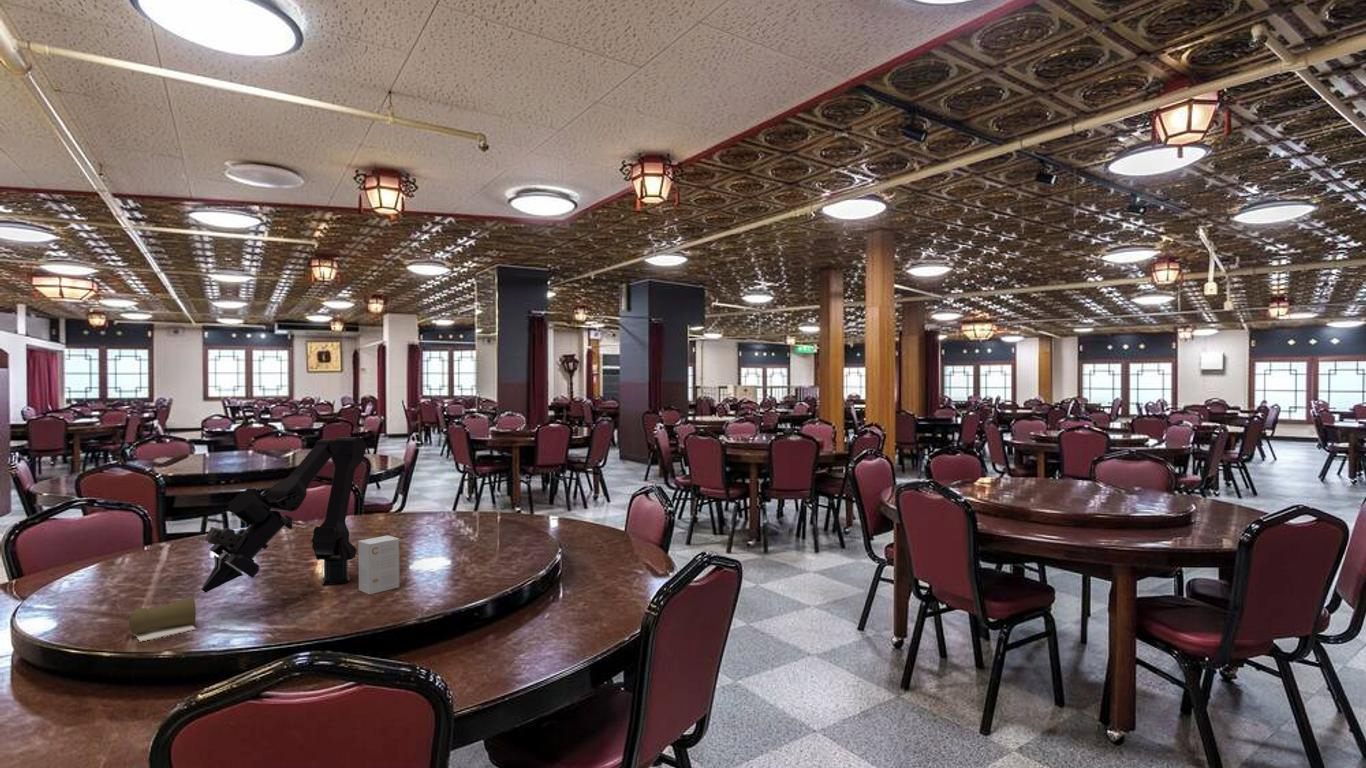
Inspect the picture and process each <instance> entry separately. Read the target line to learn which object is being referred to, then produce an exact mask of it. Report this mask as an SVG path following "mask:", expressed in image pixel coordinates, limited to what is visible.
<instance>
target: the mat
mask: <svg viewBox="0 0 1366 768" xmlns="http://www.w3.org/2000/svg"><path fill="white" fill-rule="evenodd" d="M192 630H195V631H197V629H196V627H195V626H194V624H193V625H192V624H190V625H182V626H173V627H163V628H153V629H149V630H147V631H146V632H144V633H140V634H133V636H134V637H135V636H136V637H137V638H136V637H135V638H136V640H137V639H138V640H139V641H138V640H137V641H138V642H139V643H140V642H141V643H143V642H142V641H146V642H148V641H147V640H150V641H154V640H153V639H155V640H159V639H162V638H161V637H163V638H168V637H171V636H170V635H172V636H176V635H175V634H177V635H179V634H178V633H181V634H184V633H183V632H186V633H188V632H187V631H190V632H193V631H192ZM167 636H168V637H167ZM158 638H159V639H158Z"/></svg>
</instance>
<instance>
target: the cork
mask: <svg viewBox="0 0 1366 768" xmlns="http://www.w3.org/2000/svg"><path fill="white" fill-rule="evenodd" d="M196 614H197V610H196V602H195V598H194V596H191V597H186V598H184V599H183V598H182V599H180V600H177V601H174V602H170V603H167V604H163V605H160V606H156V607H154V608H146V607H143V608H142V607H141V608H136V609H134V610H133V611H131V612H130V615H129V618H128V627H129V630H130V632H131V633H132V634H133V633H134V634H140V633H144V632H146V631H147V630H149V629H153V628H163V627H173V626H182V625H190V624H192V625H193V626H194V625H195V624H196V617H197V615H196ZM134 634H133V635H134Z"/></svg>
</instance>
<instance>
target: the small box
mask: <svg viewBox="0 0 1366 768" xmlns="http://www.w3.org/2000/svg"><path fill="white" fill-rule="evenodd" d="M357 543H358V544H357V546H358V549H357V550H358V591H360V592H363V593H364V594H368V595H373V594H377V593H382V592H385V591H389V590H394V589H399V588H400V539H399V538H398V537H395V536H393V535H383V536H377V537H371V538H367V539H366V538H365V539H361V540H358V542H357Z"/></svg>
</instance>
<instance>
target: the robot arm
mask: <svg viewBox="0 0 1366 768" xmlns="http://www.w3.org/2000/svg"><path fill="white" fill-rule="evenodd" d="M366 452H367V444H366V442H365V440H364V439H363V438H362V437H359V436H358V437H357V436H355V437H354V436H343V437H342V436H339V437H337V438H335V439H330V438H329V439H328V438H327V439H326V438H325V439H324V438H323V439H319V440H317V441H315V443H314V445H313V448H311V450H310V451H309V452H308V453H307V455H305V457H304V458H303V459H302V460H301V462H300V463H299V464H298V465H297V466H296V467H295V469H294V470H293V471H292V473H291V474H290V475H288V477H285V478H284V479H282V480H280V481H278V482H277V483H275V484H274V485H273V486H272V487H270V488H269V489H268V491H267V492H266V493H264V494H263V495H262V494H261V493H260V492H259V491H258V490H257V489H256V488H254V487H249V488H248V487H247V488H246V490H245V491H243V492H241V493H239V494H238V495H236V496H235V497H234V498H231V500H230V502H229V504H228V508H227V509H228V511H229V512H230V513H231V514H233V515H234V516H235V517H236V518H238V519H240V521H242V522H243V523H244V524H246V525H248V527H247V528H246V529H244V528H242V529H239V530H238V531H237V532H235V529H233V528H232V529H231V528H228V527H225V528H224V529H221V528H218V527H213V526H210V528H209V530H208V533H207V535H205V539H204V541H205V542H206V541H207V543H208V544H211V545H213V546H211V547H210V548H209V550H210V551H211V552H212V553H214V555H213V558H214V567H213V569H212V570H211V572H210V574H209V576H208V578H207V579H206V581H205V582H204V584H203V585H202V586H201V587H202V588H201V591H203V593H208V592H210V591H212V590H214V589H216V588H219V587H220V586H222V585H224V584H226V583H228V582H230V581H233V580H235V579H237V578H239V577H243V576H244V574H245V575H247V576H249V577H250V578H251V579H253V578H254V577H255V576H256V575H258V573H260V565H259V564H257V562H255V559H254V558H255V557H256V556H257V555H258V554H259V553H260V552H261V551H262V550H266V549H267V548H269V545H268V543H269V542H271V540H272V539H273V538H274V537H275V536H276V535H277V534H278V533H279V532H280V531H281V530H282V529H283V528H284V527H285V528H286V529H288V530H292V529H293V523H292V522H293V521H292V520H293V517H291V516H290V515H283V514H282V513H281V512H295V511H297V510H298V509H299V508H301V505H302V504H303V502H304V501H305V498H306V497H307V493H308V491H307V488H308V487H309V485H310V484H312V482H313V481H314V479H315V478H316V476H317V475H318V474H319V473H320V472H321V470H323V468H324V466H325V465H326V464H327V463H328V461H329V460H331V461H332V463H333V465H334V472H333V476H332V480H331V481H332V482H331V488H330V493H329V499H328V502H327V507H326V513H325V518H324V521H323V522H322V523H321V524H320V526H315V527H314V529H313V534H312V538H311V541H310V542H311V543H312V545H311V546H312V547H311V548H312V550H313V551H314V555H315V558H316V560H323V577H322V579H321V580H322V582H321V583H322V584H321V585H322V586H328V585H337V584H344V583H349V582H350V574H349V573H348V571H349V569H348V568H349V564H348V562H349V561H350V560H352V559H354V558H355V557H356V555H357V551H358V549H357V548H356V547H355V546H354V545H353V544H352V542H350V541H349V539H350V531H349V529H348V527H347V526H348V525H347V524H346V519H347V514H348V509H349V502H350V498H351V492H352V488H353V483H354V482H353V481H354V477H355V471H356V469H357V468H358V467H359V466H360V465H361V463H362V462H363V461H364V458H365V454H366ZM215 554H216V555H215ZM242 572H243V573H244V574H243V573H242Z"/></svg>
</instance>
